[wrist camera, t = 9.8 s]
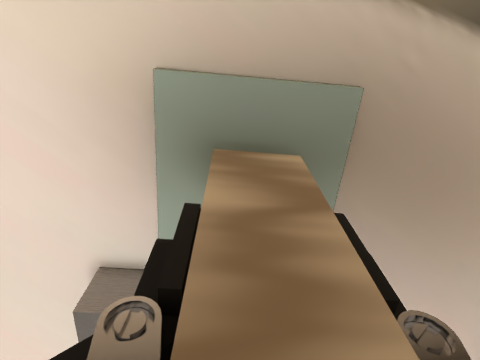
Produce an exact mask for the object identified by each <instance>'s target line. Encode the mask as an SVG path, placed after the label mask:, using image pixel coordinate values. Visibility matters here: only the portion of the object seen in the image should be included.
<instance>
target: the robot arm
mask: <svg viewBox="0 0 480 360" xmlns="http://www.w3.org/2000/svg"><path fill="white" fill-rule="evenodd" d="M200 213H201V204H195V203H185V204H184V206H183V210H182V213H181V216H180V219H179V222H178V225H177V228H176V232H175V235H174V238H173V239H159V238H158V239H157V240H156V242H155V244H154V247H153V249H152V252H151V254H150V257H149V259H148V262H147V264H146V267H145V269H144V271H143V274H142V276H141V279H140V281H139V284H138V286H137V289H136V291H135V294H134V296H130V297H125V298H122V299H120V300H118V301H115V302H114V303H112V304H111V305H109V306H108V307H107V308H106V309H105V310H104V311H103V312H102V313H101V315H100V317H99V319H98V321H97V323H96V327H95V331H94V334H93V335H91V336H90V337H88V338H86V339H84V340H83V341H81V342H79V343H77V344H76V345H74V346H72V347H70V348H69V349H67V350H65V351H64V352H62V353H60V354H58V355H57V356H55V357H53V358H51V359H50V360H170V359H171V354H172V349H173V344H174V339H175V334H176V329H177V325H178V320H179V315H180V310H181V305H182V300H183V295H184V290H185V286H186V281H187V276H188V271H189V266H190V261H191V256H192V251H193V247H194V242H195V237H196V232H197V227H198V222H199V217H200ZM334 214H335V216H336V218H337V219H338V221H339V223H340V224H341V226H342V228H343V230H344V231H345V233H346V235H347V236H348V238H349V240H350V242H351V243H352V245H353V247H354V248H355V250H356V252H357V254H358V255H359V257H360V259H361V260H362V262H363V264H364V266H365V267H366V269H367V271H368V272H369V274H370V276H371V278H372V279H373V281H374V283H375V284H376V286H377V288H378V290H379V291H380V293H381V295H382V296H383V298H384V300H385V302H386V303H387V305H388V307H389V308H390V310H391V312H392V314H393V315H394V317H395V319H396V320H397V322H398V324H399V326H400V327H401V329H402V331H403V332H404V334H405V336H406V338H407V339H408V341H409V343H410V344H411V346H412V348H413V350H414V351H415V353H416V355H417V356H418V358H419V360H471V358H470V356H469V355H468V353H467V351H466V349H465V348H464V346H463V344H462V342H461V340H460V339H459V338H458V336H457V335H456V334H455V332H454V331H453V330H452V329H451V328H450V327H448V326H447V325H446V324H445V323H443V322H442V321H440V320H439V319H437V318H436V317H434V316H431V315H429V314H427V313H424V312H420V311H414V310H409V311H407V310H406V309H405V307H404V306H403V304H402V303H401V301H400V299H399V298H398V296H397V295H396V293H395V292H394V290H393V289H392V287H391V285H390V284H389V282H388V281H387V279H386V278H385V276H384V275H383V273H382V271H381V270H380V268H379V267H378V265H377V264H376V262H375V261H374V259H373V257H372V256H371V255H370V254H369V253H368V251H367V250H366V248H365V247H364V245H363V243H362V242H361V240H360V239H359V237H358V236H357V234H356V232H355V231H354V229H353V228H352V226H351V225H350V223H349V222H348V220H347V218H346V217H345V215H344V214H341V213H334Z"/></svg>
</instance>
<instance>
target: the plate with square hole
mask: <svg viewBox="0 0 480 360" xmlns="http://www.w3.org/2000/svg"><path fill="white" fill-rule="evenodd" d="M143 271H144V270H134V269H116V268H99V269H98V271H97V272H96V274H95V276H94V277H93V279H92V281H91V282H90V284H89V286H88V287H87V289H86V291H85V292H84V294H83V296H82V297H81V299H80V301H79V302H78V304H77V306H76V307H75V309H74V311H73V316H74V321H75V326H76V331H77V336H78V341H79V342H81V341H83V340H84V339H86V338H88V337H90V336H91V335H93V334H94V331H95V327H96V323H97V321H98V319H99V317H100V315H101V313H102V312H103V311H104V310H105V309H106V308H107V307H108V306H109V305H111V304H112V303H114V302H115V301H118V300H120V299H122V298H125V297H130V296H134V294H135V291H136V289H137V286H138V284H139V281H140V279H141V276H142V274H143Z"/></svg>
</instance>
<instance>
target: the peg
mask: <svg viewBox="0 0 480 360" xmlns="http://www.w3.org/2000/svg"><path fill="white" fill-rule="evenodd" d="M170 360H419V358H418V356H417V355H416V353H415V351H414V350H413V348H412V346H411V344H410V343H409V341H408V339H407V338H406V336H405V334H404V332H403V331H402V329H401V327H400V326H399V324H398V322H397V320H396V319H395V317H394V315H393V314H392V312H391V310H390V308H389V307H388V305H387V303H386V302H385V300H384V298H383V296H382V295H381V293H380V291H379V290H378V288H377V286H376V284H375V283H374V281H373V279H372V278H371V276H370V274H369V272H368V271H367V269H366V267H365V266H364V264H363V262H362V260H361V259H360V257H359V255H358V254H357V252H356V250H355V248H354V247H353V245H352V243H351V242H350V240H349V238H348V236H347V235H346V233H345V231H344V230H343V228H342V226H341V224H340V223H339V221H338V219H337V218H336V216H335V214H334V212H333V211H332V209H331V207H330V206H329V204H328V202H327V200H326V199H325V197H324V195H323V194H322V192H321V190H320V188H319V187H318V185H317V183H316V182H315V180H314V178H313V176H312V175H311V173H310V171H309V170H308V168H307V166H306V164H305V163H304V161H303V159H302V158H301V156H299V155H286V154H273V153H260V152H247V151H234V150H221V149H213V154H212V159H211V164H210V169H209V174H208V178H207V183H206V188H205V193H204V198H203V203H202V208H201V213H200V217H199V222H198V227H197V232H196V237H195V242H194V247H193V251H192V256H191V261H190V266H189V271H188V276H187V281H186V286H185V290H184V295H183V300H182V305H181V310H180V315H179V320H178V325H177V329H176V334H175V339H174V344H173V349H172V354H171V359H170Z"/></svg>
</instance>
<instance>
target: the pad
mask: <svg viewBox="0 0 480 360" xmlns="http://www.w3.org/2000/svg"><path fill="white" fill-rule="evenodd" d="M153 81H154V112H155V144H156V176H157V207H158V238H159V239H173V238H174V235H175V232H176V228H177V225H178V222H179V219H180V216H181V213H182V210H183V206H184V204H185V203H195V204H201V208H202V203H203V198H204V193H205V188H206V183H207V178H208V174H209V169H210V164H211V159H212V154H213V149H221V150H234V151H247V152H260V153H273V154H286V155H299V156H301V158H302V159H303V161H304V163H305V164H306V166H307V168H308V170H309V171H310V173H311V175H312V176H313V178H314V180H315V182H316V183H317V185H318V187H319V188H320V190H321V192H322V194H323V195H324V197H325V199H326V200H327V202H328V204H329V206H330V207H331V209H332V211H333V210H334V206H335V202H336V198H337V194H338V190H339V186H340V182H341V178H342V174H343V170H344V166H345V162H346V158H347V154H348V150H349V146H350V142H351V138H352V134H353V130H354V126H355V122H356V118H357V114H358V110H359V106H360V102H361V97H362V93H363V89H364V88H362V87H359V86H348V85H337V84H326V83H315V82H304V81H293V80H282V79H271V78H259V77H248V76H237V75H226V74H215V73H204V72H193V71H182V70H171V69H160V68H155V69H153Z"/></svg>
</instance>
